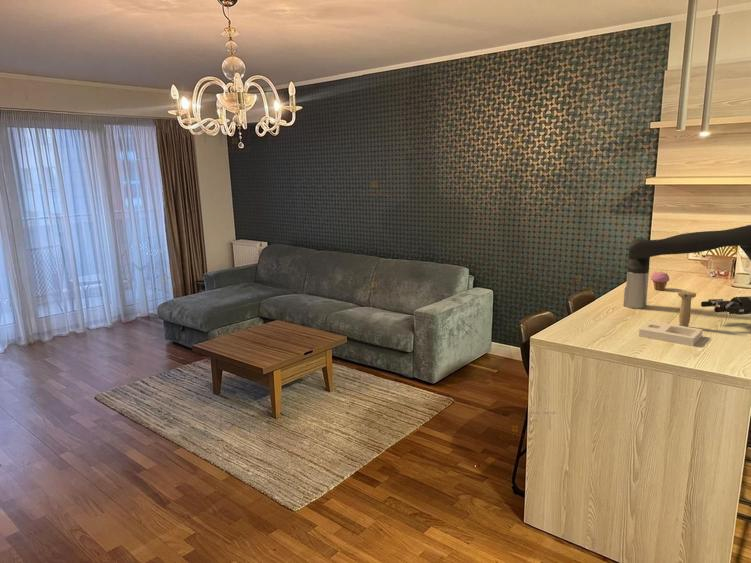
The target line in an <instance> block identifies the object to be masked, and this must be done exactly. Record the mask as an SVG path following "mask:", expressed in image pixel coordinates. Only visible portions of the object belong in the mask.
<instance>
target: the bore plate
mask: <svg viewBox="0 0 751 563" xmlns="http://www.w3.org/2000/svg"><path fill="white" fill-rule="evenodd" d="M638 331H639V332H638V337H642V338H647V339H653V340H658V341H664V342H668V343H674V344H679V345H683V346H684V345H685V346H689V347H690V346H691V347H694V345H695V344H697V342H698V341H699V340H700V339H701V338H702V337H703V329H702V328H698V327H697V328H695V327H690V326H688V327H685V326H679V325H677V324H671V323H666V322H665V323H664V322H660V321H659V322H658V321H653V320H650V321H648V322H647V323H645V325H643V326H641V328H639V330H638Z"/></svg>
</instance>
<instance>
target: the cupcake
mask: <svg viewBox="0 0 751 563" xmlns="http://www.w3.org/2000/svg"><path fill="white" fill-rule="evenodd" d="M650 280H651V281H652V282H653V288H654V290H655V291H665V289H666V287H667V284H668V282H670V276H669V275H668V273H667V272H663V271H656V272H653V273H652V275H651V277H650Z"/></svg>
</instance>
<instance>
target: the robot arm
mask: <svg viewBox="0 0 751 563" xmlns="http://www.w3.org/2000/svg"><path fill="white" fill-rule="evenodd" d="M737 246H738V247H739V248H740V249H741V250H742V252H744V254H745V255H746V256H747V257H748V259H749V261H750V262H751V225H750V224H748V225H743V226H739V227H734V228H729V229H723V230H708V231H696V232H694V231H693V232H686V233H680V234H676V235H673V236H669V237H665V238H662V239H661V238H660V239H646V238H643V237H638V238H635V239H633V240H632V241H631V242H630V243H629V245H628V257H627V258H628V259H627V272H626V286H624V290H623V293H624V294H623V306H624V307H627V308H629V309H645V308H647V301H648V300H647V299H648V290H649V289H648V287H649V276H650V274H649V273H650V262H651V261H650V260H651V258H652V257H657V256H658V257H659V256H665V255H684V254H686V255H687V254H695V253H703V252H707V251H711V250H715V249H719V248H726V247H737ZM700 307H702V308H714V309H713V311H714V313H726V314H729V315H737V316H738V315H742V316H743V315H751V295H750V296H734V297H732V298H731V299H730V300H727V299H726V300H724V299H723V298H720V299H719V298H716V299H715V298H712V299H708V300H707V301H701V302H700Z"/></svg>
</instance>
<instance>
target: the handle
mask: <svg viewBox="0 0 751 563" xmlns="http://www.w3.org/2000/svg"><path fill="white" fill-rule="evenodd" d="M677 296H679V297H681V301H680V302H681V303H680V309H679V313H678V315H679V316H678V319H679V320H678V321H679V325H678V326H685V327H689V324H690V320H691V314H692V313H691V312H692V310H691V309H692V308H691V307H692V299H694V298H696V296H697V293H696V292H695V291H686V290H683V291H682V290H679V291H677Z"/></svg>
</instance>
